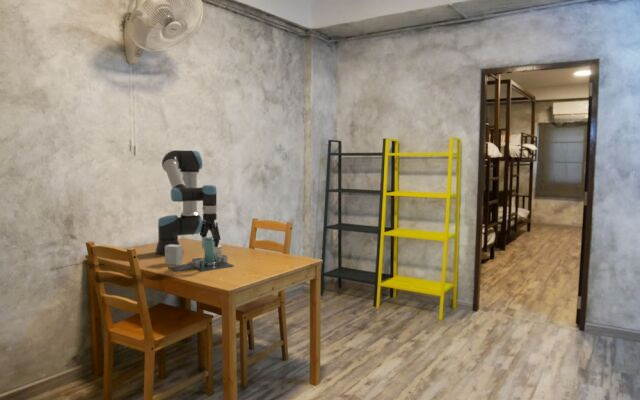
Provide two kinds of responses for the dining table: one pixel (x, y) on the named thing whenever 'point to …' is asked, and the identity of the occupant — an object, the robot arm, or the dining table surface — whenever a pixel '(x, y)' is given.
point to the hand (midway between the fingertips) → (210, 250)
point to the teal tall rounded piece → (209, 252)
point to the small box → (173, 254)
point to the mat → (181, 267)
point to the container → (218, 249)
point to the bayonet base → (211, 266)
